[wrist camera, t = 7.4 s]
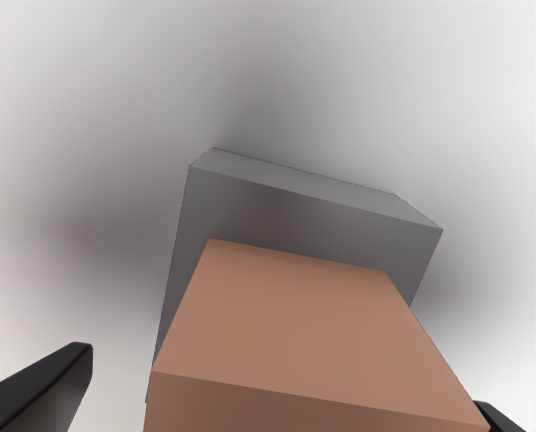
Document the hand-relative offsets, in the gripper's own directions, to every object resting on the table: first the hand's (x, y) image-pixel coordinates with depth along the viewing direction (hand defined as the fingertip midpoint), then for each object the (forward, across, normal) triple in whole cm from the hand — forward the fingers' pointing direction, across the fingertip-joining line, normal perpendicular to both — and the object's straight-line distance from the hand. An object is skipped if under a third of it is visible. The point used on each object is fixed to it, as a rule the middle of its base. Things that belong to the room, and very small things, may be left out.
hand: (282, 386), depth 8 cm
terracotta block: (+2, 0, 0) cm, 2 cm away
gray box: (+6, 0, 0) cm, 6 cm away
